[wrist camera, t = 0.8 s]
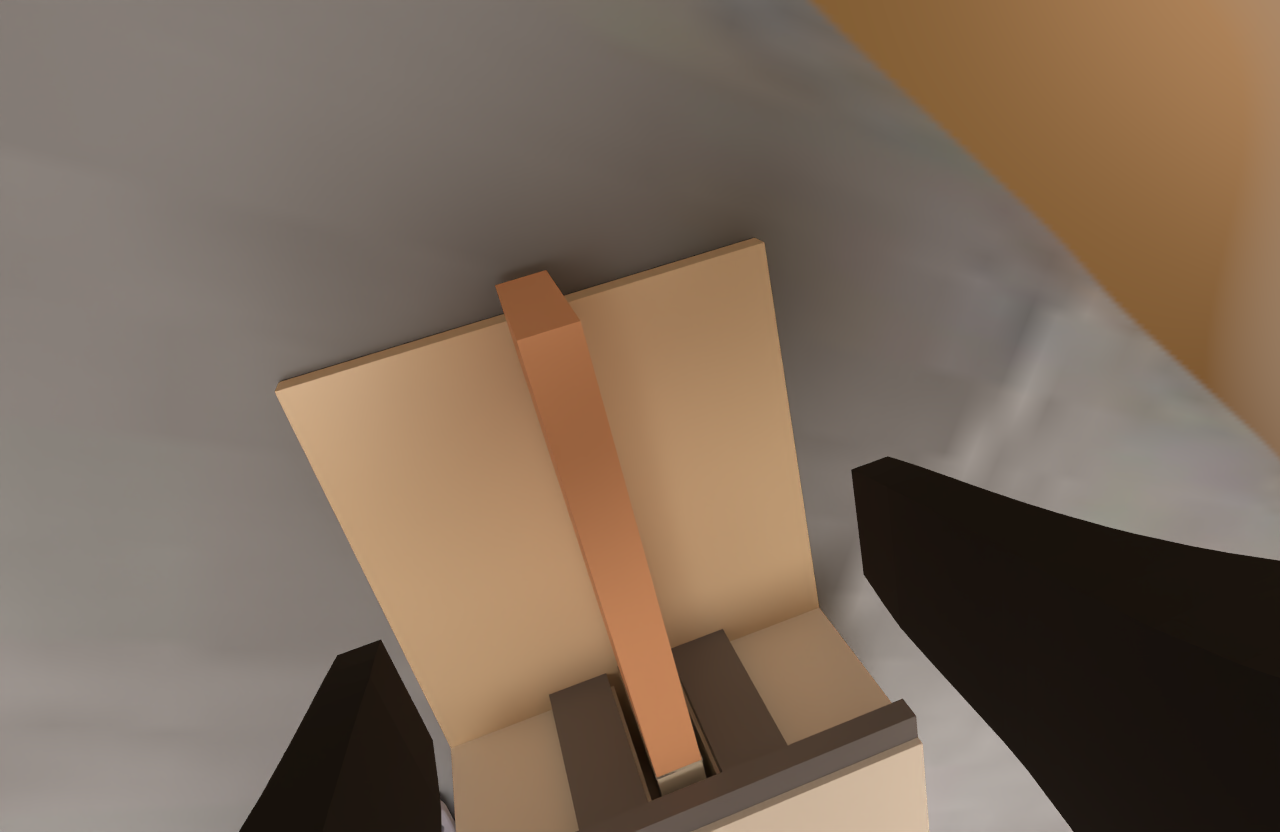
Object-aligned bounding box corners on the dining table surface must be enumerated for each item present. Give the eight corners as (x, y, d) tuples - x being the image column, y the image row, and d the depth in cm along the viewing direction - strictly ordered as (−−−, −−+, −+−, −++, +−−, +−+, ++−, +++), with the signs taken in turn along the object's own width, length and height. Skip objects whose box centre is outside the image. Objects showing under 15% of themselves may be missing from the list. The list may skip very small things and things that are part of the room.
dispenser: (844, 810, 30) (940, 975, 25) (549, 935, 28) (582, 1142, 23) (754, 237, 20) (888, 303, 14) (278, 382, 18) (220, 520, 12)
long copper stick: (706, 821, 27) (751, 936, 23) (671, 835, 26) (712, 953, 23) (547, 269, 17) (581, 320, 14) (493, 285, 17) (515, 340, 14)
